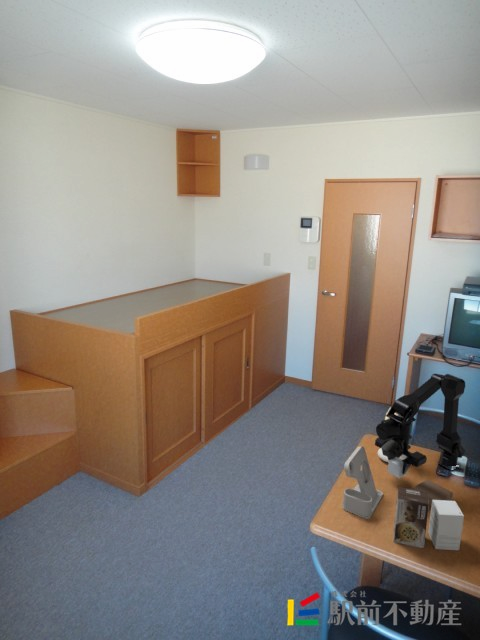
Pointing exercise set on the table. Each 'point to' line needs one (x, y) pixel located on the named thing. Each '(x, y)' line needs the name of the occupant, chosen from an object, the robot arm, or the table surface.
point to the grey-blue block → (396, 467)
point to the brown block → (434, 491)
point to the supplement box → (445, 525)
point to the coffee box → (411, 517)
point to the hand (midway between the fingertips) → (397, 470)
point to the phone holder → (360, 486)
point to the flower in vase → (381, 448)
